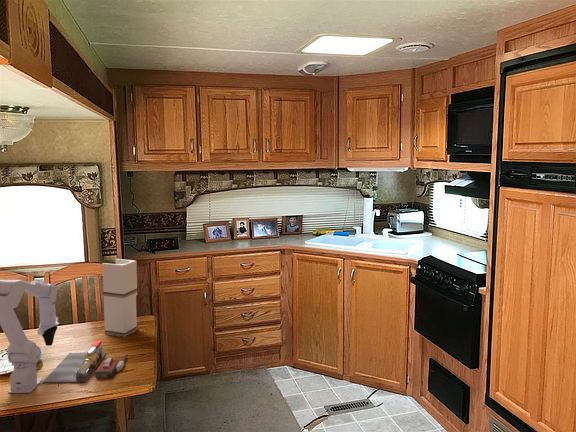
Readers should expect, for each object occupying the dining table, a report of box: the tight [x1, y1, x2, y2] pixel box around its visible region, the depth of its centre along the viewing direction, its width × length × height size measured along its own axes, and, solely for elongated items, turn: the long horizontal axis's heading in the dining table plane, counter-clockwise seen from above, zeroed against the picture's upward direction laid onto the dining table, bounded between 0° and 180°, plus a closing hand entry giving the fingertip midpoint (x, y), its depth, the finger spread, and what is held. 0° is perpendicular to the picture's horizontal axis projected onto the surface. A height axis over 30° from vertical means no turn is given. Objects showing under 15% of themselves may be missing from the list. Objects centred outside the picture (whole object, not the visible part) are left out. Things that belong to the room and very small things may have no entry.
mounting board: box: [42, 352, 107, 384], centre depth 194 cm, size 26×16×1 cm, turn 3°
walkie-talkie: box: [94, 354, 128, 379], centre depth 195 cm, size 9×4×20 cm
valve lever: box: [86, 339, 102, 355], centre depth 199 cm, size 12×3×1 cm, turn 5°
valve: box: [76, 345, 105, 378], centre depth 194 cm, size 22×4×5 cm, turn 3°
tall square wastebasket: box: [101, 258, 139, 338], centre depth 231 cm, size 11×11×35 cm
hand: (49, 345), depth 193 cm, fingers closed
